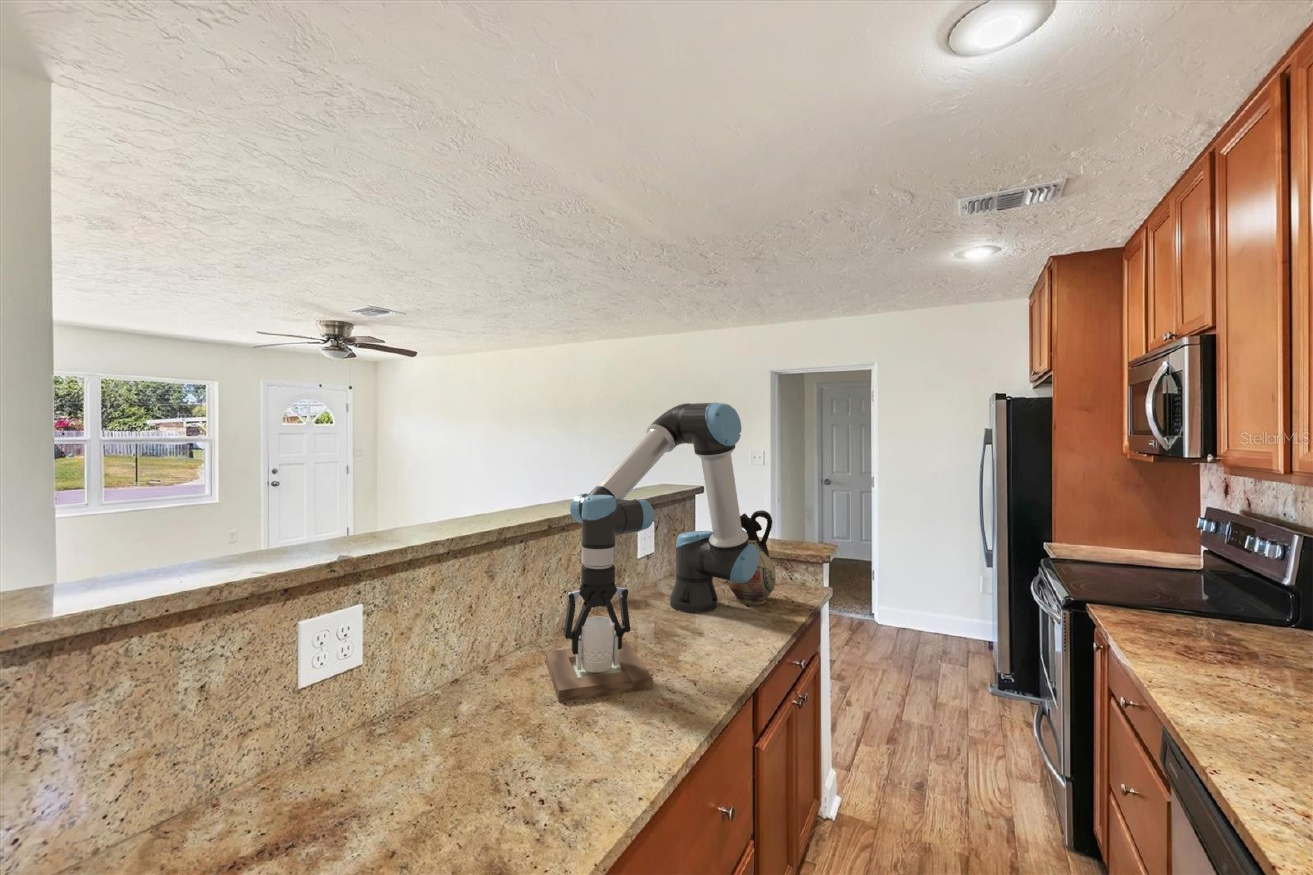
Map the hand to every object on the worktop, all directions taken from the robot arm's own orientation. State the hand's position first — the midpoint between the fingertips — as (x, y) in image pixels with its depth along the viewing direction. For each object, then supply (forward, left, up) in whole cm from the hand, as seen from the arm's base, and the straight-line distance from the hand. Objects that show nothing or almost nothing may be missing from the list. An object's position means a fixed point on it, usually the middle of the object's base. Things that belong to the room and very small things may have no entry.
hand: (596, 665), depth 124 cm
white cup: (0, 0, 0) cm, 0 cm away
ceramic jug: (-60, -37, -2) cm, 70 cm away
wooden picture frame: (0, 0, -2) cm, 2 cm away
